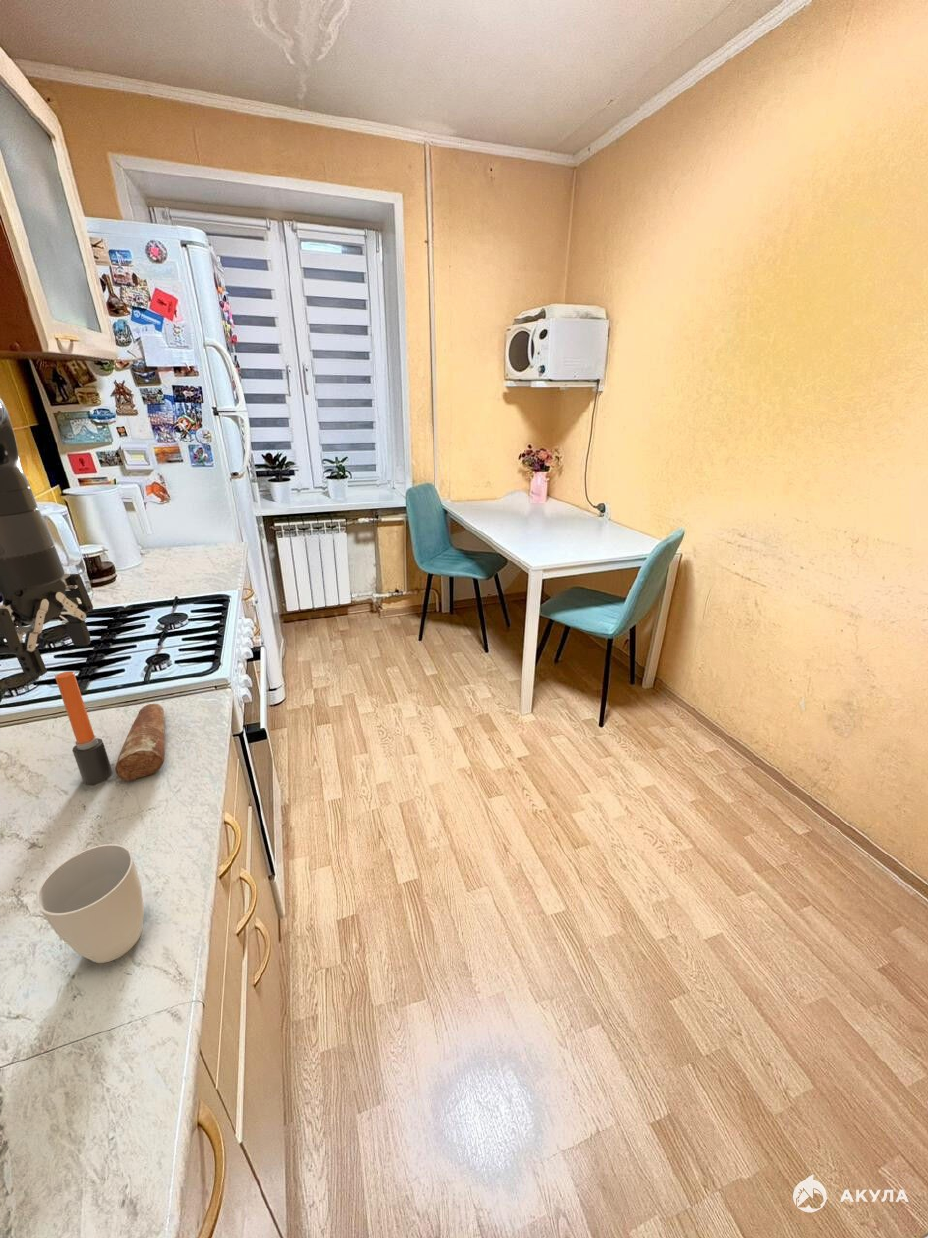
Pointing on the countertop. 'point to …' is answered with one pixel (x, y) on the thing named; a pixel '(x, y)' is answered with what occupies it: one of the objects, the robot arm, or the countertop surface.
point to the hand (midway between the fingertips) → (61, 659)
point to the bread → (143, 745)
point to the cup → (95, 902)
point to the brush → (83, 733)
